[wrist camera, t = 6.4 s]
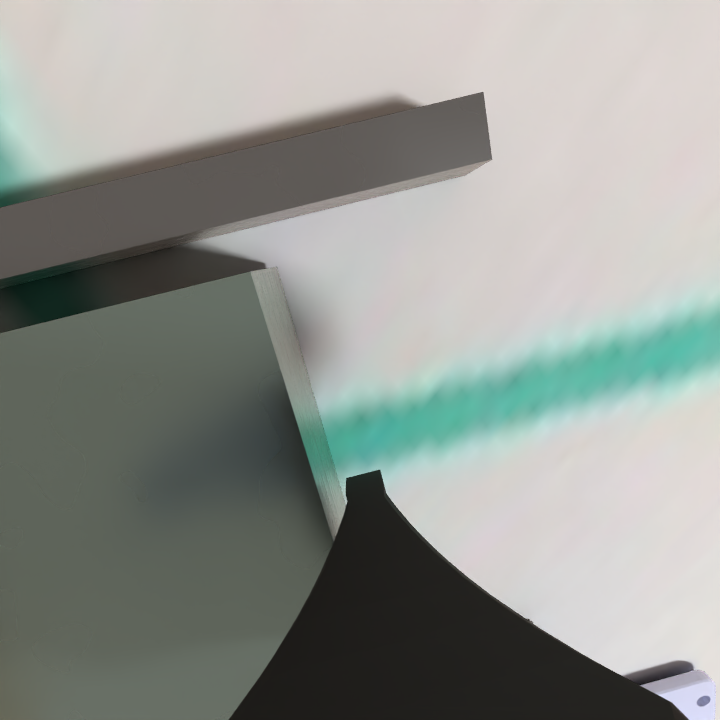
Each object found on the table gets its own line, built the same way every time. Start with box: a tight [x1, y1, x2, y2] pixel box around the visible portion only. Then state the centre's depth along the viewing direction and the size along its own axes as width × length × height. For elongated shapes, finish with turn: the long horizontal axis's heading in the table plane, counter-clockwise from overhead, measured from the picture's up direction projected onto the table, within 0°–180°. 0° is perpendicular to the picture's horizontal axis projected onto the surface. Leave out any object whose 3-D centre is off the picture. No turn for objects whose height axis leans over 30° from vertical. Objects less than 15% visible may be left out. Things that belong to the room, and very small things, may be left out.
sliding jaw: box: [0, 267, 346, 720], centre depth 9 cm, size 12×10×3 cm
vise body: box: [0, 92, 533, 623], centre depth 9 cm, size 16×23×4 cm
